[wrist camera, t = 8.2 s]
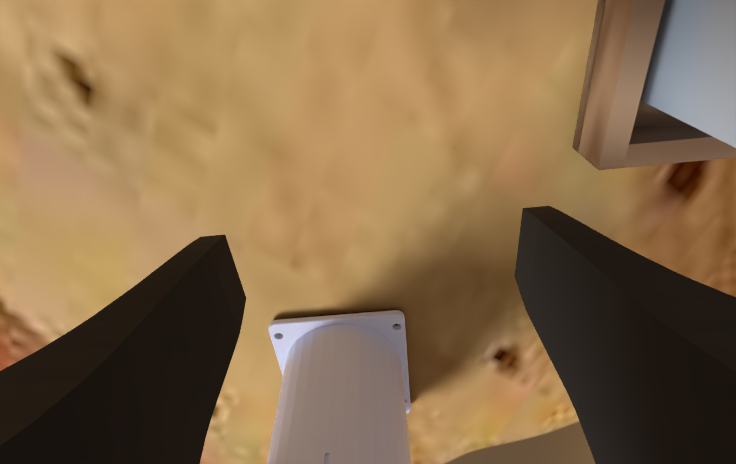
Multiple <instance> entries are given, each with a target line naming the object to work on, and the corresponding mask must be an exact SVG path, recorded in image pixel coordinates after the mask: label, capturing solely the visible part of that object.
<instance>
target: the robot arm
mask: <svg viewBox="0 0 736 464" xmlns="http://www.w3.org/2000/svg"><path fill="white" fill-rule="evenodd" d="M515 278H516V281H517V284H518V287H519V290H520V294H521V297H522V299H523V302H524V305H525V308H526V311H527V313H528V315H529V317H530V319H531V321H532V323H533V325H534V327H535V329H536V331H537V333H538V335H539V337H540V339H541V341H542V343H543V345H544V347H545V349H546V351H547V353H548V355H549V357H550V359H551V361H552V363H553V365H554V367H555V369H556V371H557V373H558V375H559V377H560V379H561V381H562V383H563V385H564V387H565V389H566V391H567V393H568V395H569V397H570V399H571V401H572V404H573V406H574V408H575V410H576V413H577V415H578V418H579V421H580V423H581V426H582V428H583V431H584V434H585V436H586V439H587V441H588V444H589V447H590V449H591V452H592V455H593V457H594V460H595V463H596V464H736V297H733V296H731V295H728V294H726V293H723V292H721V291H719V290H716V289H714V288H711V287H709V286H706V285H704V284H701V283H699V282H697V281H694V280H692V279H690V278H687V277H685V276H683V275H681V274H678V273H676V272H674V271H672V270H670V269H668V268H666V267H664V266H662V265H660V264H658V263H655V262H653V261H651V260H649V259H647V258H645V257H643V256H641V255H639V254H637V253H635V252H634V251H632V250H630V249H628V248H626V247H624V246H622V245H620V244H618V243H617V242H615V241H613V240H611V239H609V238H607V237H606V236H604V235H602V234H600V233H599V232H597V231H595V230H593V229H591V228H590V227H588V226H586V225H584V224H583V223H581V222H579V221H577V220H575V219H574V218H572V217H570V216H568V215H566V214H564V213H563V212H561V211H559V210H557V209H555V208H552V207H550V206H543V207H532V208H523V212H522V220H521V228H520V237H519V245H518V254H517V262H516V271H515ZM245 302H246V296H245V293H244V290H243V287H242V284H241V281H240V278H239V275H238V272H237V269H236V266H235V263H234V260H233V257H232V254H231V251H230V248H229V245H228V242H227V239H226V236H225V235H216V236H205V237H200V238H198V239H197V240H195V241H193V242H192V243H190V244H189V245H188V246H186V247H185V248H184V249H182V250H181V251H180V252H178V253H177V254H176V255H174V256H173V257H172V258H171V259H169V260H168V261H167V262H165V263H164V264H163V265H162V266H160V267H159V268H158V269H156V270H155V271H154V272H152V273H151V274H150V275H149V276H147V277H146V278H145V279H143V280H142V281H141V282H140V283H138V284H137V285H136V286H134V287H133V288H132V289H130V290H129V291H127V292H126V293H125V294H123V295H122V296H120V297H119V298H118V299H116V300H115V301H113V302H112V303H111V304H109V305H108V306H106V307H105V308H104V309H102V310H101V311H99V312H98V313H97V314H95V315H94V316H92V317H91V318H89V319H88V320H86V321H85V322H83V323H82V324H80V325H79V326H77V327H76V328H74V329H73V330H71V331H70V332H68V333H66V334H65V335H63V336H61V337H60V338H58V339H56V340H55V341H53V342H51V343H50V344H48V345H47V346H45V347H43V348H42V349H40V350H38V351H36V352H35V353H33V354H31V355H29V356H28V357H26V358H24V359H22V360H20V361H18V362H16V363H15V364H13V365H11V366H9V367H7V368H5V369H3V370H2V371H0V464H200V459H201V455H202V451H203V446H204V442H205V438H206V434H207V431H208V427H209V424H210V420H211V417H212V414H213V411H214V408H215V405H216V402H217V399H218V397H219V394H220V391H221V388H222V385H223V382H224V379H225V376H226V373H227V370H228V367H229V364H230V361H231V358H232V355H233V352H234V349H235V346H236V343H237V340H238V337H239V334H240V329H241V324H242V319H243V314H244V308H245ZM394 324H399V325H394ZM269 333H270V336H271V340H272V343H273V346H274V349H275V352H276V356H277V359H278V362H279V365H280V368H281V372H282V375H283V379H282V385H281V390H280V395H279V401H278V406H277V411H276V417H275V422H274V427H273V433H272V438H271V443H270V449H269V454H268V459H267V464H411V454H410V444H409V434H408V424H407V413H409V412H410V410H411V405H410V390H409V375H408V359H407V344H406V329H405V317H404V313H403V312H401V311H399V310H392V311H380V312H367V313H355V314H342V315H330V316H317V317H305V318H293V319H280V320H273V321H272V322H270V324H269ZM277 333H280V334H277Z"/></svg>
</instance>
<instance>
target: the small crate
mask: <svg viewBox="0 0 736 464" xmlns="http://www.w3.org/2000/svg"><path fill="white" fill-rule="evenodd" d="M640 100H641V101H643V102H645V103H647V104H649V105H651V106H653V107H655V108H657V109H659V110H661V111H663V112H665V113H667V114H669V115H671V116H673V117H675V118H677V119H679V120H681V121H683V122H685V123H687V124H689V125H691V126H693V127H695V128H697V129H699V130H701V131H703V132H705V133H707V134H709V135H711V136H713V137H715V138H717V139H719V140H721V141H723V142H725V143H727V144H729V145H731V146H733V147H735V148H736V0H665V3H664V7H663V11H662V15H661V19H660V23H659V27H658V31H657V35H656V39H655V43H654V47H653V51H652V54H651V58H650V62H649V66H648V70H647V74H646V78H645V82H644V86H643V90H642V94H641V99H640Z"/></svg>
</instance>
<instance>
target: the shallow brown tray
mask: <svg viewBox="0 0 736 464" xmlns="http://www.w3.org/2000/svg"><path fill="white" fill-rule="evenodd" d="M664 3H665V0H599V1H598V6H597V12H596V18H595V23H594V29H593V35H592V40H591V46H590V52H589V58H588V63H587V69H586V75H585V80H584V86H583V92H582V97H581V103H580V109H579V114H578V120H577V126H576V131H575V137H574V143H573V148H574V149H575V150H576V151H577V152H578V153H580V154H581V155H582V156H583V157H584V158H585V159H586V160H587V161H589V162H590V163H591V164H592V165H593V166H594V167H595V168H597V169H598V170H604V169H615V168H626V167H637V166H648V165H659V164H670V163H681V162H692V161H702V160H713V159H724V158H735V157H736V148H735V147H733V146H731V145H729V144H727V143H725V142H723V141H721V140H719V139H717V138H715V137H713V136H711V135H709V134H707V133H705V132H703V131H701V130H699V129H697V128H695V127H693V126H691V125H689V124H687V123H685V122H683V121H681V120H679V119H677V118H675V117H673V116H671V115H669V114H667V113H665V112H663V111H661V110H659V109H657V108H655V107H653V106H651V105H649V104H647V103H645V102H643V101H641V100H640V99H641V94H642V90H643V86H644V82H645V78H646V74H647V70H648V66H649V62H650V58H651V54H652V51H653V47H654V43H655V39H656V35H657V31H658V27H659V23H660V19H661V15H662V11H663V7H664Z"/></svg>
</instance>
